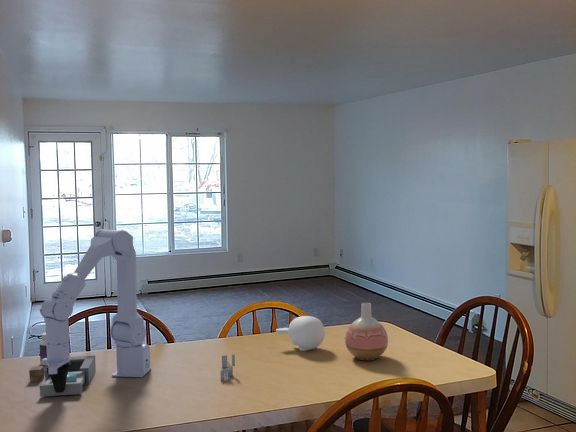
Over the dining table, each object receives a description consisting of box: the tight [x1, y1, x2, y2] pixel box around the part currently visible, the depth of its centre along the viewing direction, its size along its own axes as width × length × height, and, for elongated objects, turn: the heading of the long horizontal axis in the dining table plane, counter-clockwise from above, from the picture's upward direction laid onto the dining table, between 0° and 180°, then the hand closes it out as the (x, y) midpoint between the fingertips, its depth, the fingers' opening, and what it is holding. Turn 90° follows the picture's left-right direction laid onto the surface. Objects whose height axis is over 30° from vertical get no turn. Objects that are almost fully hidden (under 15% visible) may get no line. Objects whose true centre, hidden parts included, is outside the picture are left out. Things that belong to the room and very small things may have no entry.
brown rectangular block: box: [28, 365, 45, 383], centre depth 179 cm, size 3×3×4 cm
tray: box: [39, 371, 86, 398], centre depth 171 cm, size 11×12×3 cm
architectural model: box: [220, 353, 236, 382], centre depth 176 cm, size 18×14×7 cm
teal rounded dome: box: [66, 372, 77, 383], centre depth 172 cm, size 6×6×2 cm
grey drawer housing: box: [44, 355, 97, 386], centre depth 179 cm, size 12×12×5 cm
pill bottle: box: [39, 331, 48, 366], centre depth 194 cm, size 5×5×10 cm
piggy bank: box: [275, 315, 326, 352], centre depth 206 cm, size 12×12×15 cm
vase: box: [344, 302, 389, 362], centre depth 195 cm, size 14×14×18 cm
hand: (60, 391), depth 164 cm, fingers closed
